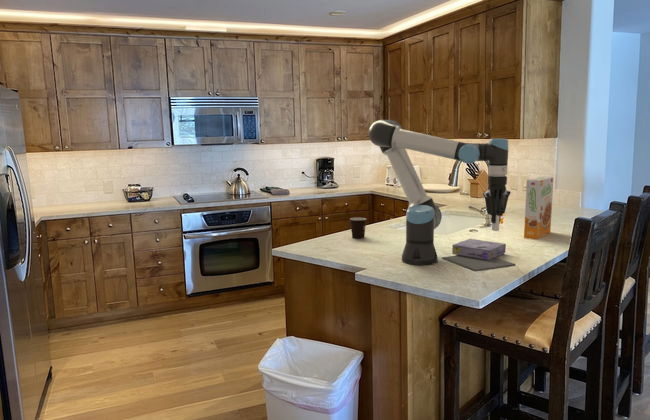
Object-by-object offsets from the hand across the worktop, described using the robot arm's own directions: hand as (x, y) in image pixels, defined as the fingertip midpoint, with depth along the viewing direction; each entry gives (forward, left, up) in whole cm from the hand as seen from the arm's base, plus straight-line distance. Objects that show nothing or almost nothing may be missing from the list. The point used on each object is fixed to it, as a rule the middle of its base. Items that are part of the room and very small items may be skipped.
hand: (495, 230), depth 214 cm
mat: (-9, 0, -13) cm, 16 cm away
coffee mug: (-31, +67, -13) cm, 75 cm away
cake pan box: (+4, +1, -10) cm, 11 cm away
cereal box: (+55, +30, -13) cm, 64 cm away
